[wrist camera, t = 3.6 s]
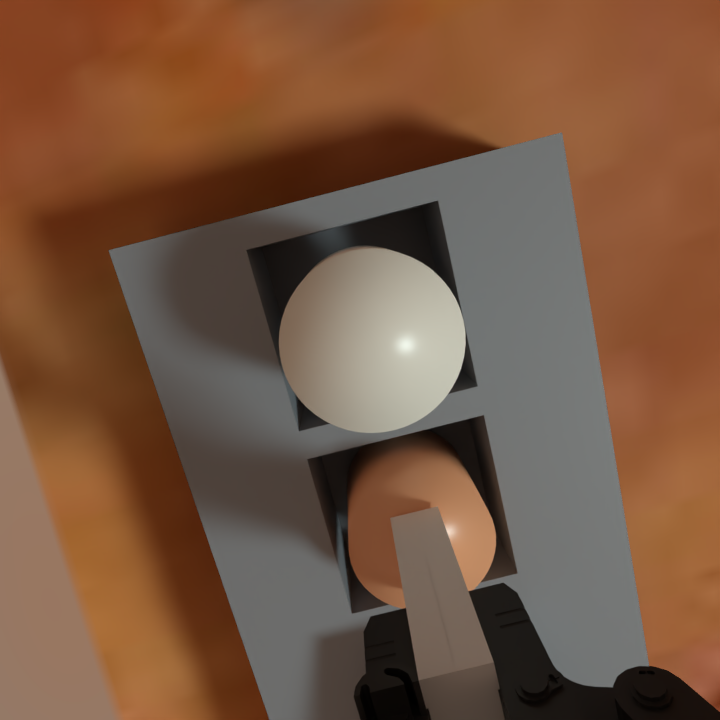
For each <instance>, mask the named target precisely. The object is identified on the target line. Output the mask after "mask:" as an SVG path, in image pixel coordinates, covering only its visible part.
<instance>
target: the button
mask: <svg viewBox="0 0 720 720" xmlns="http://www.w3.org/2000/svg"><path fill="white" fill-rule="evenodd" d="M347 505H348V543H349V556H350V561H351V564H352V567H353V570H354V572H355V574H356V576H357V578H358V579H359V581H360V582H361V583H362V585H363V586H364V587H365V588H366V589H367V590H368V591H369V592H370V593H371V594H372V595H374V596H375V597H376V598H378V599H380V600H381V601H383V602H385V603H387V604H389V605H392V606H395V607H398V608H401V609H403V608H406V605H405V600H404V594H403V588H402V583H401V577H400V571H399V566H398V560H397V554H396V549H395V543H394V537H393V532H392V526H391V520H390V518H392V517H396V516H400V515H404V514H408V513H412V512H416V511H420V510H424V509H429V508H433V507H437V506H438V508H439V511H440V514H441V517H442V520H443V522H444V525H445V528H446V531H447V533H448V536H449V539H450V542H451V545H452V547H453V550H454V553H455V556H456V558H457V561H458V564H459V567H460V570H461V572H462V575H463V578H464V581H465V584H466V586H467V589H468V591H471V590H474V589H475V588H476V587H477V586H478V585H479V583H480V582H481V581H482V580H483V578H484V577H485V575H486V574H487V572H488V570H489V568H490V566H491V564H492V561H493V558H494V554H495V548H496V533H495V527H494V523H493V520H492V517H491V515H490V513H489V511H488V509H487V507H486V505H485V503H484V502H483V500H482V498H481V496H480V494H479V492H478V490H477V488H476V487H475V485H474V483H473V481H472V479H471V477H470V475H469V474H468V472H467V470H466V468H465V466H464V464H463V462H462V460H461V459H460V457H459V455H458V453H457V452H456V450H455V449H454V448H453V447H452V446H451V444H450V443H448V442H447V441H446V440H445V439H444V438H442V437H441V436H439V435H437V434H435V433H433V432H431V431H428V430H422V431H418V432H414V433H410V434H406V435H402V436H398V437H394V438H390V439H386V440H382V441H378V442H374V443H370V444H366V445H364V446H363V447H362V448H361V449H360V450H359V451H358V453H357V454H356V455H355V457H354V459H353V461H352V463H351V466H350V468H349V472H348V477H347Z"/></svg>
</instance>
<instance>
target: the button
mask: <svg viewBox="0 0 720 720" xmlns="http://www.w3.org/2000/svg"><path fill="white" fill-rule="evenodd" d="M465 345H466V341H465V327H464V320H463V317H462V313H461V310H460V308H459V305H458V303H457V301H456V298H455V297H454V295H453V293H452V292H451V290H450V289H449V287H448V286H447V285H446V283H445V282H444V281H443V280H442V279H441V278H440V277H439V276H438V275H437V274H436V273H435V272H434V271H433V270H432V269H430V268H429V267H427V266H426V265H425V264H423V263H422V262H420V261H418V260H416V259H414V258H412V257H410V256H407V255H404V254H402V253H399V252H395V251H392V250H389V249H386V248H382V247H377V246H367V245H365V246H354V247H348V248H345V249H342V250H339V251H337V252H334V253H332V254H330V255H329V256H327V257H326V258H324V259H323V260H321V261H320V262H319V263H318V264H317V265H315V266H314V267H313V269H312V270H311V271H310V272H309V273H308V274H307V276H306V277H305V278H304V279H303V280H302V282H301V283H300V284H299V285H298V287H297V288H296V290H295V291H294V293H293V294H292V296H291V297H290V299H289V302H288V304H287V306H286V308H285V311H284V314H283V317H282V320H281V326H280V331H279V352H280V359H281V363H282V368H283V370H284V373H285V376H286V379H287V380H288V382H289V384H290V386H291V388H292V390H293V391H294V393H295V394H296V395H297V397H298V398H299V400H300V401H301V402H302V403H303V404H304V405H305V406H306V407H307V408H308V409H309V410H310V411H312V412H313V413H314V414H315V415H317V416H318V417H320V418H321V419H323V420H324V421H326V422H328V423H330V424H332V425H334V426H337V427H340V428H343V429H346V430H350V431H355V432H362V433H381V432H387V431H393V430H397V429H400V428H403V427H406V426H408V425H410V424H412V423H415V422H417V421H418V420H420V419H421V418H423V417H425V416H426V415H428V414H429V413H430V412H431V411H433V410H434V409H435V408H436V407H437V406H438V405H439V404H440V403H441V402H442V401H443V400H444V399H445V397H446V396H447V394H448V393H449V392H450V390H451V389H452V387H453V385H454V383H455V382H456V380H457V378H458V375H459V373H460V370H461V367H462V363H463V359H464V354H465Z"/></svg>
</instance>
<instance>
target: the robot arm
mask: <svg viewBox="0 0 720 720" xmlns="http://www.w3.org/2000/svg"><path fill="white" fill-rule="evenodd" d="M390 520H391V526H392V532H393V537H394V543H395V549H396V554H397V560H398V566H399V571H400V577H401V583H402V588H403V594H404V600H405V605H406V608H403V609H399V610H395V611H391V612H387V613H383V614H379V615H374V616H370V619H369V621H368V623H367V625H366V627H365V630H364V632H363V633H364V648H365V662H366V663H365V668H366V674H365V675H363V676H362V677H361V679H360V680H359V682H358V683H357V685H356V686H355V691H354V696H353V697H354V700H355V703H356V707H357V710H358V713H359V717H360V720H720V712H719V711H718V710H716V709H715V708H714V707H713V706H712V705H711V704H709V703H708V702H707V701H706V700H705V699H704V698H702V697H701V696H700V695H699V694H698V693H697V692H695V691H694V690H693V689H692V688H691V687H690V686H688V685H687V684H686V683H685V682H684V681H682V680H681V679H680V678H679V677H677V676H675V675H674V674H672V673H671V672H669V671H667V670H664V669H660V668H657V667H653V666H637V667H633V668H630V669H626V670H625V671H624V672H622V673H621V674H620V675H618V676H617V678H616V680H615V682H614V685H613V687H594V686H586V685H582V684H578V683H575V682H573V681H571V680H569V679H567V678H565V677H564V676H563V675H562V674H561V672H559V671H557V669H556V668H555V667H554V665H553V664H552V662H551V660H550V658H549V656H548V654H547V651H546V649H545V647H544V645H543V643H542V641H541V639H540V637H539V635H538V633H537V631H536V629H535V627H534V625H533V623H532V622H531V620H530V617H529V615H528V613H527V611H526V610H525V607H524V605H523V603H522V601H521V599H520V597H519V595H518V593H517V592H516V591H514V590H513V589H511V588H510V587H509V586H507V585H506V584H505V583H500V584H496V585H492V586H487V587H483V588H479V589H475V590H471V591H468V589H467V586H466V584H465V581H464V578H463V575H462V572H461V570H460V567H459V564H458V561H457V558H456V556H455V553H454V550H453V547H452V545H451V542H450V539H449V536H448V533H447V531H446V528H445V525H444V522H443V520H442V517H441V514H440V511H439V508H438V506H437V507H433V508H429V509H424V510H420V511H416V512H412V513H408V514H404V515H400V516H396V517H392V518H390Z"/></svg>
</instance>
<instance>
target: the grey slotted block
mask: <svg viewBox="0 0 720 720" xmlns="http://www.w3.org/2000/svg"><path fill="white" fill-rule="evenodd" d="M365 245H367V246H377V247H382V248H386V249H389V250H392V251H395V252H399V253H402V254H404V255H407V256H410V257H412V258H414V259H416V260H418V261H420V262H422V263H423V264H425V265H426V266H427V267H429V268H430V269H432V270H433V271H434V272H435V273H436V274H437V275H438V276H439V277H440V278H441V279H442V280H443V281H444V282H445V283H446V285H447V286H448V287H449V289H450V290H451V292H452V293H453V295H454V297H455V298H456V301H457V303H458V305H459V308H460V310H461V313H462V317H463V320H464V327H465V341H466V345H465V354H464V359H463V363H462V367H461V370H460V373H459V375H458V378H457V380H456V382H455V383H454V385H453V387H452V389H451V390H450V392H449V393H448V394H447V396H446V397H445V399H444V400H443V401H442V402H441V403H440V404H439V405H438V406H437V407H436V408H435V409H434V410H433V411H431V412H430V413H429V414H428V415H426V416H425V417H423V418H421V419H420V420H418V421H417V422H415V423H412V424H410V425H408V426H406V427H403V428H400V429H397V430H393V431H387V432H381V433H362V432H355V431H350V430H346V429H343V428H340V427H337V426H334V425H332V424H330V423H328V422H326V421H324V420H323V419H321V418H320V417H318V416H317V415H315V414H314V413H313V412H312V411H310V410H309V409H308V408H307V407H306V406H305V405H304V404H303V403H302V402H301V401H300V400H299V398H298V397H297V395H296V394H295V393H294V391H293V390H292V388H291V386H290V384H289V382H288V380H287V379H286V376H285V373H284V370H283V368H282V363H281V359H280V352H279V331H280V326H281V320H282V317H283V314H284V311H285V308H286V306H287V304H288V302H289V299H290V297H291V296H292V294H293V293H294V291H295V290H296V288H297V287H298V285H299V284H300V283H301V282H302V280H303V279H304V278H305V277H306V276H307V274H308V273H309V272H310V271H311V270H312V269H313V267H314V266H315V265H317V264H318V263H319V262H320V261H321V260H323V259H324V258H326V257H327V256H329V255H330V254H332V253H334V252H337V251H339V250H342V249H345V248H348V247H354V246H365ZM109 253H110V256H111V259H112V262H113V265H114V268H115V271H116V274H117V277H118V280H119V282H120V285H121V288H122V291H123V294H124V297H125V300H126V303H127V306H128V309H129V312H130V315H131V317H132V320H133V323H134V326H135V329H136V332H137V335H138V338H139V341H140V344H141V347H142V350H143V352H144V355H145V358H146V361H147V364H148V367H149V370H150V373H151V376H152V379H153V382H154V385H155V387H156V390H157V393H158V396H159V399H160V402H161V405H162V408H163V411H164V414H165V417H166V420H167V422H168V425H169V428H170V431H171V434H172V437H173V440H174V443H175V446H176V449H177V452H178V455H179V457H180V460H181V463H182V466H183V469H184V472H185V475H186V478H187V481H188V484H189V487H190V490H191V492H192V495H193V498H194V501H195V504H196V507H197V510H198V513H199V516H200V519H201V522H202V525H203V527H204V530H205V533H206V536H207V539H208V542H209V545H210V548H211V551H212V554H213V557H214V560H215V562H216V565H217V568H218V571H219V574H220V577H221V580H222V583H223V586H224V589H225V592H226V595H227V597H228V600H229V603H230V606H231V609H232V612H233V615H234V618H235V621H236V624H237V627H238V630H239V632H240V635H241V638H242V641H243V644H244V647H245V650H246V653H247V656H248V659H249V662H250V665H251V667H252V670H253V673H254V676H255V679H256V682H257V685H258V688H259V691H260V694H261V697H262V700H263V702H264V705H265V708H266V711H267V714H268V717H269V720H360V717H359V713H358V710H357V707H356V703H355V700H354V697H353V696H354V691H355V686H356V685H357V683H358V682H359V680H360V679H361V677H362V676H363V675H365V674H366V668H365V663H366V662H365V648H364V633H363V632H364V630H365V627H366V625H367V623H368V621H369V619H370V616H374V615H379V614H383V613H387V612H391V611H395V610H399V609H401V608H398V607H395V606H392V605H389V604H387V603H385V602H383V601H381V600H380V599H378V598H376V597H375V596H374V595H372V594H371V593H370V592H369V591H368V590H367V589H366V588H365V587H364V586H363V585H362V583H361V582H360V581H359V579H358V578H357V576H356V574H355V572H354V570H353V567H352V564H351V561H350V556H349V543H348V505H347V477H348V472H349V468H350V466H351V463H352V461H353V459H354V457H355V455H356V454H357V453H358V451H359V450H360V449H361V448H362V447H363V446H364V445H366V444H370V443H374V442H378V441H382V440H386V439H390V438H394V437H398V436H402V435H406V434H410V433H414V432H418V431H422V430H428V431H431V432H433V433H435V434H437V435H439V436H441V437H442V438H444V439H445V440H446V441H447V442H448V443H450V444H451V446H452V447H453V448H454V449H455V450H456V452H457V453H458V455H459V457H460V459H461V460H462V462H463V464H464V466H465V468H466V470H467V472H468V474H469V475H470V477H471V479H472V481H473V483H474V485H475V487H476V488H477V490H478V492H479V494H480V496H481V498H482V500H483V502H484V503H485V505H486V507H487V509H488V511H489V513H490V515H491V517H492V520H493V523H494V527H495V533H496V548H495V554H494V558H493V561H492V564H491V566H490V568H489V570H488V572H487V574H486V575H485V577H484V578H483V580H482V581H481V582H480V583H479V585H478V586H477V587H476V588H475V589H479V588H483V587H487V586H492V585H496V584H500V583H505V584H506V585H507V586H509V587H510V588H511V589H513V590H514V591H516V592H517V593H518V595H519V597H520V599H521V601H522V603H523V605H524V607H525V610H526V611H527V613H528V615H529V617H530V620H531V622H532V623H533V625H534V627H535V629H536V631H537V633H538V635H539V637H540V639H541V641H542V643H543V645H544V647H545V649H546V651H547V654H548V656H549V658H550V660H551V662H552V664H553V665H554V667H555V668H556V669H557V671H559V672H561V674H562V675H563V676H564V677H565V678H567V679H569V680H571V681H573V682H575V683H578V684H582V685H586V686H594V687H613V685H614V682H615V680H616V678H617V676H618V675H620V674H621V673H622V672H624V671H625V670H626V669H630V668H633V667H637V666H649V663H648V656H647V650H646V644H645V638H644V632H643V626H642V620H641V614H640V607H639V601H638V595H637V589H636V583H635V577H634V571H633V565H632V558H631V552H630V546H629V540H628V534H627V528H626V522H625V516H624V509H623V503H622V497H621V491H620V485H619V479H618V473H617V467H616V460H615V454H614V448H613V442H612V436H611V430H610V424H609V417H608V411H607V405H606V399H605V393H604V387H603V381H602V375H601V368H600V362H599V356H598V350H597V344H596V338H595V332H594V326H593V319H592V313H591V307H590V301H589V295H588V289H587V283H586V277H585V270H584V264H583V258H582V252H581V246H580V240H579V234H578V228H577V221H576V215H575V209H574V203H573V197H572V191H571V185H570V179H569V172H568V166H567V160H566V154H565V148H564V142H563V136H562V133H558V134H554V135H551V136H547V137H543V138H539V139H535V140H531V141H528V142H524V143H520V144H516V145H512V146H508V147H504V148H501V149H497V150H493V151H489V152H485V153H481V154H477V155H474V156H470V157H466V158H462V159H458V160H454V161H450V162H447V163H443V164H439V165H435V166H431V167H427V168H424V169H420V170H416V171H412V172H408V173H404V174H400V175H397V176H393V177H389V178H385V179H381V180H377V181H373V182H370V183H366V184H362V185H358V186H354V187H350V188H346V189H343V190H339V191H335V192H331V193H327V194H323V195H320V196H316V197H312V198H308V199H304V200H300V201H296V202H293V203H289V204H285V205H281V206H277V207H273V208H269V209H266V210H262V211H258V212H254V213H250V214H246V215H243V216H239V217H235V218H231V219H227V220H223V221H219V222H216V223H212V224H208V225H204V226H200V227H196V228H192V229H189V230H185V231H181V232H177V233H173V234H169V235H165V236H162V237H158V238H154V239H150V240H146V241H142V242H139V243H135V244H131V245H127V246H123V247H119V248H115V249H112V250H109ZM475 589H474V590H475Z"/></svg>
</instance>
